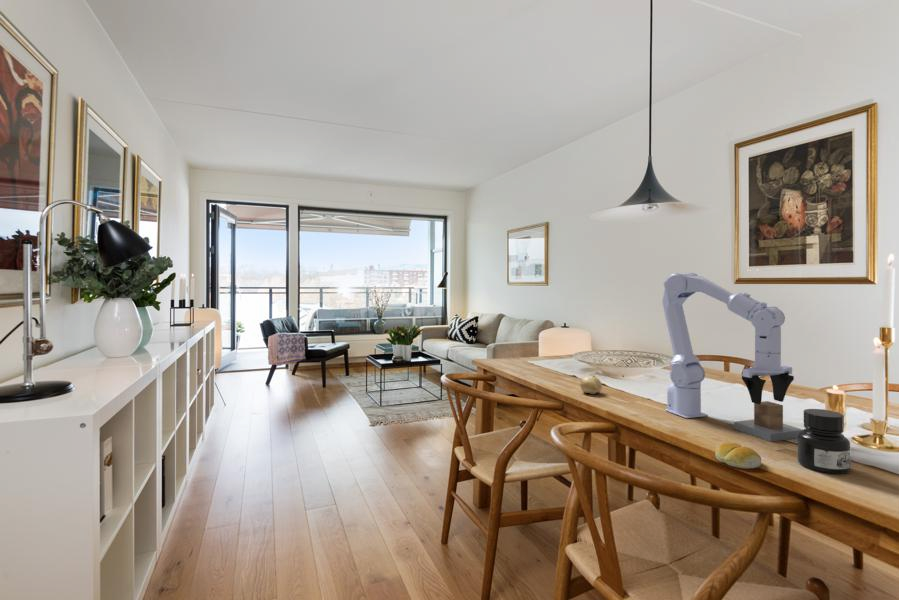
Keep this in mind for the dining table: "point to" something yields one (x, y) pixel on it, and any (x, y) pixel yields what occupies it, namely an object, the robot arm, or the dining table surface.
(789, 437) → the slate base
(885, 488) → the dining table surface
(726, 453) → the bread roll
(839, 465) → the ink bottle
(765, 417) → the walnut block
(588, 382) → the onion
